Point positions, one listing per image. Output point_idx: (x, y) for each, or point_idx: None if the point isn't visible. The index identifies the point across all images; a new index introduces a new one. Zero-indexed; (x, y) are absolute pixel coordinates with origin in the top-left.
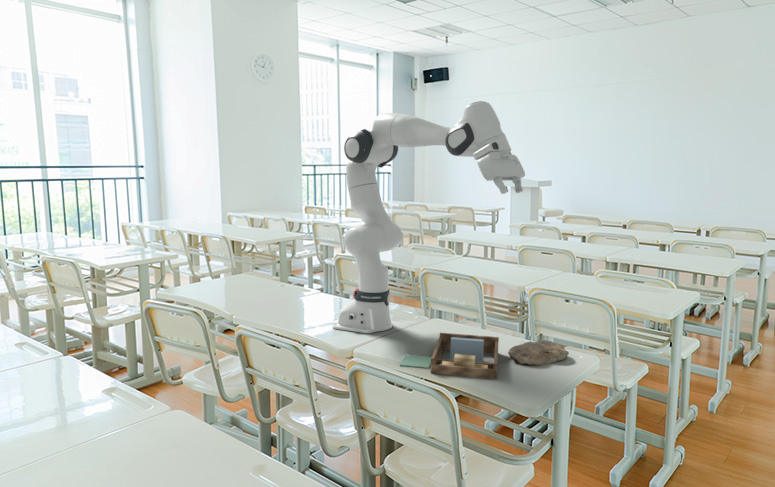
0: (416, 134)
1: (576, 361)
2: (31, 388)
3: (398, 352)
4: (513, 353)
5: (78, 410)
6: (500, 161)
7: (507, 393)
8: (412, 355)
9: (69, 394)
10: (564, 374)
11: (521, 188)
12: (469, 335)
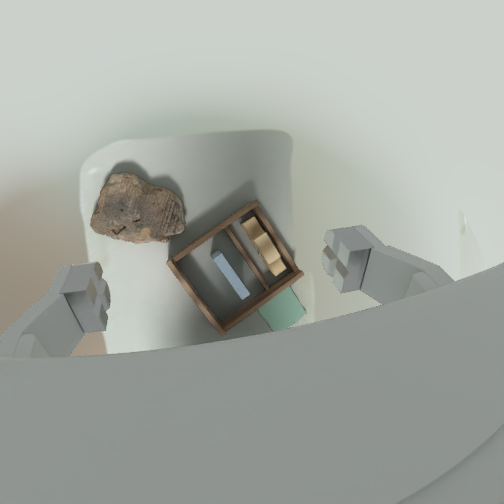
0: None
1: (113, 164)
2: None
3: None
4: (181, 222)
5: None
6: (484, 488)
7: (278, 167)
8: (271, 327)
9: None
10: (170, 149)
11: (70, 273)
12: (196, 299)
